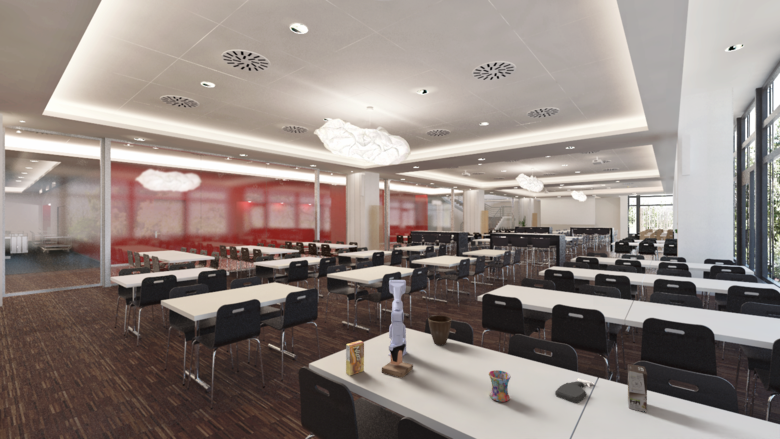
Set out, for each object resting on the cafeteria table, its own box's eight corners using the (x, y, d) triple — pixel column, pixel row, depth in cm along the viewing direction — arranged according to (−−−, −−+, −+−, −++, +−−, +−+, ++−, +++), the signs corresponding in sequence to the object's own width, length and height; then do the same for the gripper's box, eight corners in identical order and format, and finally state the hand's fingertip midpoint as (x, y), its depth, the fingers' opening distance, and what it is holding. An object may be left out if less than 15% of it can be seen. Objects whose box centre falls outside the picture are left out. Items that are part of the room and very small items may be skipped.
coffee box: (647, 413, 144) (647, 374, 144) (628, 408, 147) (628, 370, 147) (645, 403, 152) (645, 366, 152) (627, 399, 155) (627, 363, 155)
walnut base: (393, 365, 192) (393, 359, 192) (412, 370, 186) (412, 364, 186) (381, 373, 182) (381, 367, 182) (401, 379, 175) (401, 373, 175)
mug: (508, 406, 149) (508, 381, 149) (486, 400, 154) (486, 376, 154) (513, 393, 160) (513, 370, 160) (492, 388, 164) (492, 366, 164)
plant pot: (427, 346, 218) (427, 321, 218) (428, 338, 233) (428, 314, 232) (451, 348, 215) (451, 322, 215) (451, 340, 230) (451, 315, 230)
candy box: (359, 368, 186) (359, 340, 186) (364, 371, 183) (364, 342, 183) (345, 373, 181) (345, 343, 181) (350, 376, 178) (350, 346, 177)
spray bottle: (552, 396, 158) (573, 380, 175) (578, 405, 150) (598, 388, 167) (552, 389, 158) (573, 374, 175) (578, 399, 150) (598, 381, 167)
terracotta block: (395, 360, 187) (394, 349, 187) (402, 362, 185) (402, 350, 185) (390, 363, 183) (390, 352, 183) (398, 365, 181) (397, 353, 181)
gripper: (397, 328, 192) (397, 353, 192) (383, 336, 180) (383, 362, 180) (409, 331, 188) (409, 356, 188) (395, 339, 176) (395, 365, 176)
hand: (397, 359), depth 184 cm, fingers closed on terracotta block, 4 cm apart
